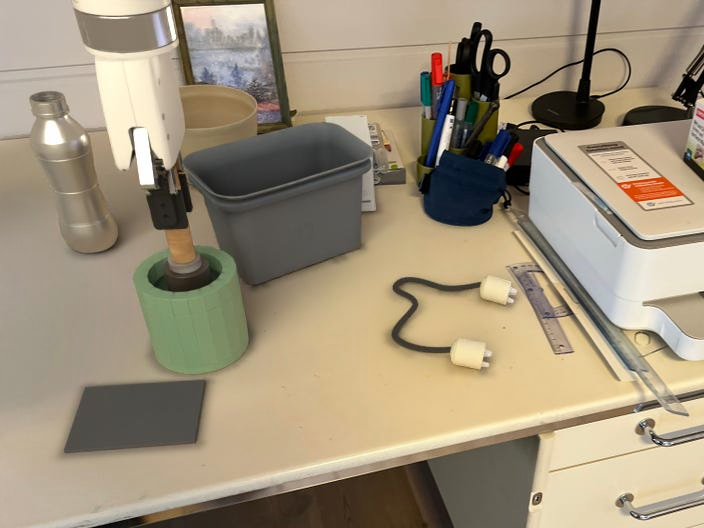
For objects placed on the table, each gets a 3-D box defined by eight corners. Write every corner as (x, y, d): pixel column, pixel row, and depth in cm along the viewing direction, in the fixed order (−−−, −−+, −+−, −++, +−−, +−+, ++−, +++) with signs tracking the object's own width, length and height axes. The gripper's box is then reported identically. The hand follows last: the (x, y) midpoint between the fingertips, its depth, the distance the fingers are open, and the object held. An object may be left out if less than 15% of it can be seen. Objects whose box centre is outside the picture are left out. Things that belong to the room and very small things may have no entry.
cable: (357, 352, 86) (355, 329, 84) (401, 276, 98) (400, 254, 96) (489, 379, 84) (491, 355, 81) (517, 298, 96) (520, 275, 94)
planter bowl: (179, 209, 107) (163, 137, 100) (142, 164, 117) (125, 95, 110) (283, 183, 115) (275, 114, 108) (241, 143, 125) (231, 77, 118)
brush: (169, 317, 80) (132, 179, 69) (175, 292, 83) (141, 157, 73) (215, 315, 80) (184, 178, 70) (219, 290, 84) (191, 156, 73)
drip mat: (64, 453, 72) (63, 450, 72) (86, 389, 79) (84, 387, 78) (195, 443, 74) (194, 440, 74) (205, 382, 81) (204, 379, 80)
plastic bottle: (111, 260, 97) (65, 109, 84) (58, 258, 97) (3, 106, 84) (129, 234, 102) (87, 87, 89) (78, 232, 101) (29, 84, 88)
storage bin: (239, 306, 91) (220, 200, 82) (187, 249, 100) (164, 147, 91) (386, 253, 102) (384, 154, 93) (328, 205, 111) (320, 111, 101)
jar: (147, 377, 81) (124, 302, 74) (162, 319, 88) (142, 246, 82) (245, 371, 82) (231, 297, 76) (251, 315, 90) (239, 243, 83)
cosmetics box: (328, 179, 117) (323, 114, 110) (370, 178, 118) (368, 113, 111) (331, 213, 109) (326, 145, 102) (376, 211, 110) (374, 144, 103)
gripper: (101, -2, 68) (148, 182, 80) (55, 60, 56) (118, 266, 68) (187, -1, 70) (221, 180, 81) (160, 60, 58) (204, 262, 69)
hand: (174, 218), depth 75 cm, fingers closed on brush, 2 cm apart
